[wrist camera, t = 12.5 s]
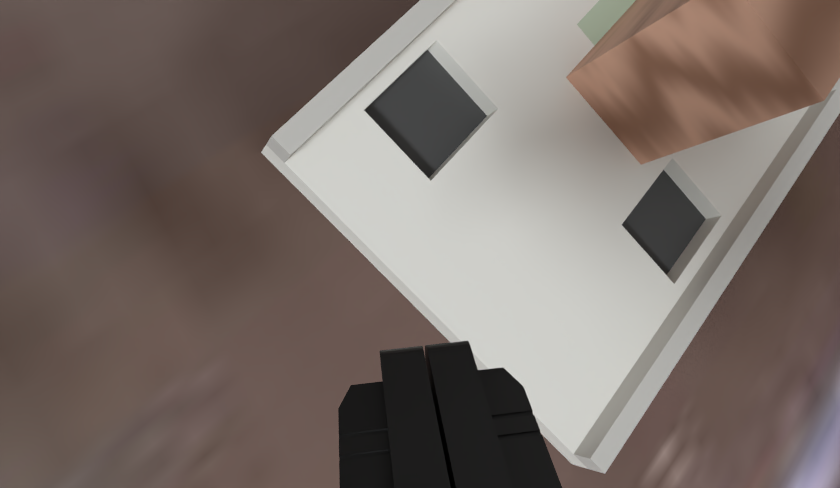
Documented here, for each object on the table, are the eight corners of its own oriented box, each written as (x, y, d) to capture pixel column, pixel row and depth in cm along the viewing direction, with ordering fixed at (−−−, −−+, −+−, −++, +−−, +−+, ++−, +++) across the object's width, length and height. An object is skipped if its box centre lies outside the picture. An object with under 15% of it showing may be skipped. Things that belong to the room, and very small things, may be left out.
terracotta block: (566, 77, 40) (728, -24, 29) (676, -45, 44) (853, -172, 33) (641, 164, 41) (824, 100, 30) (740, 37, 45) (931, -59, 34)
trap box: (261, 152, 34) (271, 136, 31) (603, -163, 45) (633, -195, 42) (571, 463, 38) (604, 473, 35) (813, 105, 49) (853, 91, 47)
